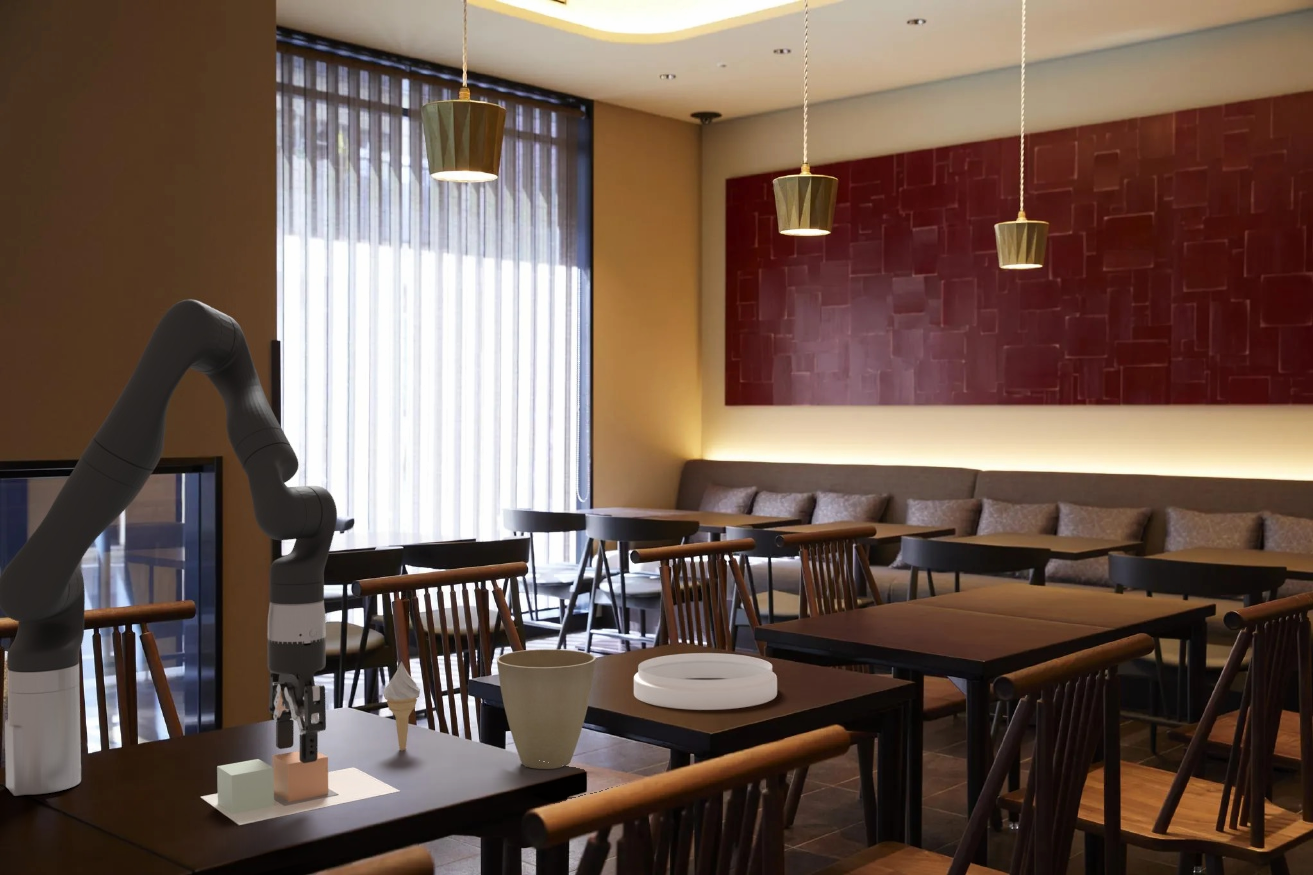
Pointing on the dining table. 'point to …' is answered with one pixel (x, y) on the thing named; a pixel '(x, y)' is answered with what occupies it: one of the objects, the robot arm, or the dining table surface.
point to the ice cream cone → (401, 701)
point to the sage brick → (245, 786)
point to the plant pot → (546, 702)
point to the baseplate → (340, 790)
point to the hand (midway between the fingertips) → (296, 754)
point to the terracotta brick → (299, 776)
